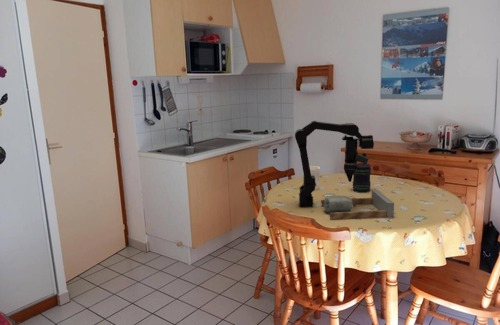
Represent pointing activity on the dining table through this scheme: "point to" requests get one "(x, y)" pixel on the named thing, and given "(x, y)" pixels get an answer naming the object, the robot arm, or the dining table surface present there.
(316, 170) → the foam cup
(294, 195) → the dining table surface
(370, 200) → the guide rails
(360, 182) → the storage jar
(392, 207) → the end stop
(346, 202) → the spool
